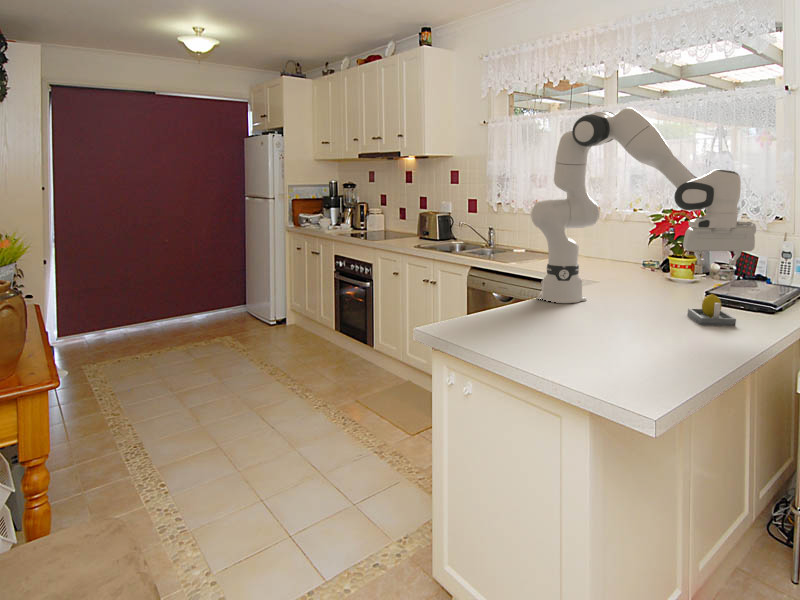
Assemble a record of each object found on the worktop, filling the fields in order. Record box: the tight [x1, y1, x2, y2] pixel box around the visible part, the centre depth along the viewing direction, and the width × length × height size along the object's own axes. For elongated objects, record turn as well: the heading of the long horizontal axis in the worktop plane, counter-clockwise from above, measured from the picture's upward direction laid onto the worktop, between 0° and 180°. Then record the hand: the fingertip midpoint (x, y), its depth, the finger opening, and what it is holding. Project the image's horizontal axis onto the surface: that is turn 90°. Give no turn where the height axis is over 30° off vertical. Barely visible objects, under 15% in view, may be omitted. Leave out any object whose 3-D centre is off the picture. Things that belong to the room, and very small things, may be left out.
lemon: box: [701, 293, 722, 318], centre depth 181 cm, size 6×6×8 cm
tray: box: [686, 302, 737, 327], centre depth 181 cm, size 14×10×7 cm
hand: (716, 264), depth 178 cm, fingers open, 8 cm apart
